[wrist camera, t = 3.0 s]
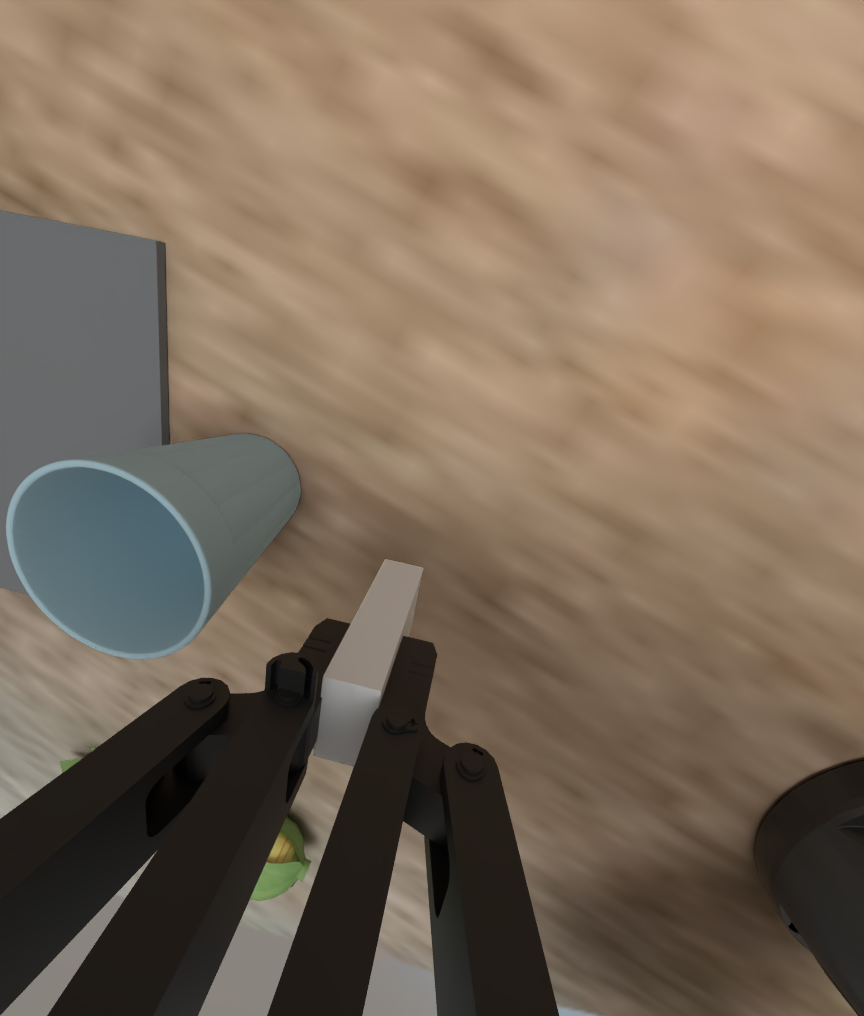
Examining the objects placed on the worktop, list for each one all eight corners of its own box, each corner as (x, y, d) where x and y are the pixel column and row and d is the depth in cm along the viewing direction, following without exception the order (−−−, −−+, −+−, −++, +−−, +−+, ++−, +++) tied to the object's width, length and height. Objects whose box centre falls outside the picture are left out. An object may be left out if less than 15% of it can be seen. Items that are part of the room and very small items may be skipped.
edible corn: (283, 923, 33) (291, 911, 30) (27, 800, 33) (12, 776, 30) (317, 841, 37) (327, 823, 34) (89, 732, 37) (80, 705, 34)
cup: (216, 382, 24) (25, 414, 15) (344, 460, 25) (241, 541, 15) (172, 498, 27) (-12, 590, 17) (288, 566, 28) (171, 692, 18)
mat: (164, 242, 22) (156, 240, 22) (173, 624, 30) (167, 630, 30) (-99, 192, 23) (-114, 188, 23) (-24, 574, 31) (-33, 579, 31)
